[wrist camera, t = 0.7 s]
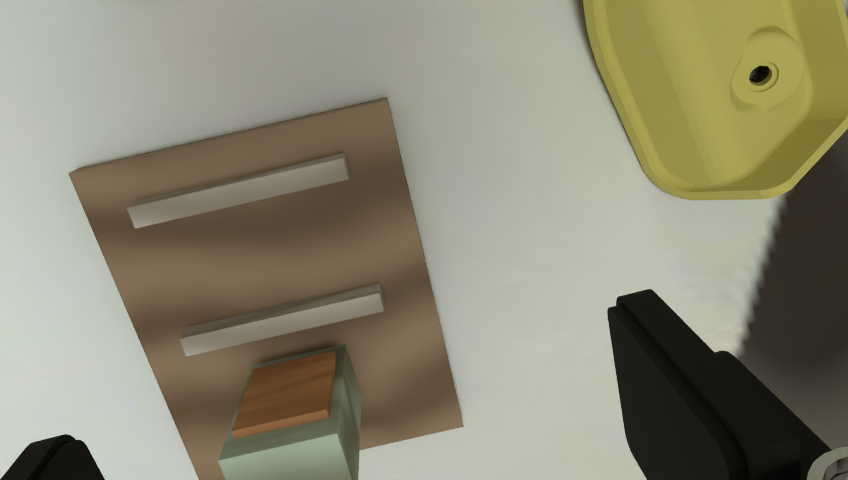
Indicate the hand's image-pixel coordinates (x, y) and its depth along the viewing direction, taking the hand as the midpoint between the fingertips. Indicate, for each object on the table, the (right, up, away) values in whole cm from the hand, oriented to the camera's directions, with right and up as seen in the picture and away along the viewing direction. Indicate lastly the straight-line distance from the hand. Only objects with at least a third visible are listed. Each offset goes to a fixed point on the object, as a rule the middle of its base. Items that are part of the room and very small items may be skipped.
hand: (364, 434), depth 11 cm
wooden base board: (-7, -1, +28) cm, 29 cm away
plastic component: (+16, +17, +24) cm, 34 cm away
